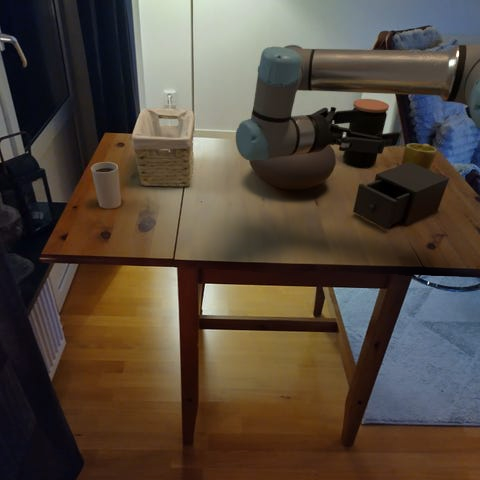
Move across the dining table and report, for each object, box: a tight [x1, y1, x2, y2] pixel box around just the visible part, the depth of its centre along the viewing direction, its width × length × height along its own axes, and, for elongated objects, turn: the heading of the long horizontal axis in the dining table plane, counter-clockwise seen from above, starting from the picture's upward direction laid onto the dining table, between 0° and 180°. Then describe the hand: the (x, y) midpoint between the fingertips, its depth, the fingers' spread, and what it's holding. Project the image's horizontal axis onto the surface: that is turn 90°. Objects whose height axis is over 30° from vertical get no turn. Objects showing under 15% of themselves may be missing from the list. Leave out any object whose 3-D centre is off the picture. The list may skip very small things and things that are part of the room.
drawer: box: [352, 179, 412, 231], centre depth 120 cm, size 15×11×8 cm
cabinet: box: [374, 162, 450, 227], centre depth 124 cm, size 15×13×10 cm
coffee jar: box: [343, 98, 390, 169], centre depth 145 cm, size 11×11×18 cm
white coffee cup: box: [90, 161, 122, 210], centre depth 120 cm, size 7×7×10 cm
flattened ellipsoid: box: [248, 145, 337, 190], centre depth 132 cm, size 25×25×15 cm
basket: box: [131, 108, 195, 188], centre depth 135 cm, size 24×16×15 cm
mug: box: [401, 142, 437, 171], centre depth 145 cm, size 12×10×10 cm
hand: (376, 126), depth 106 cm, fingers open, 13 cm apart
